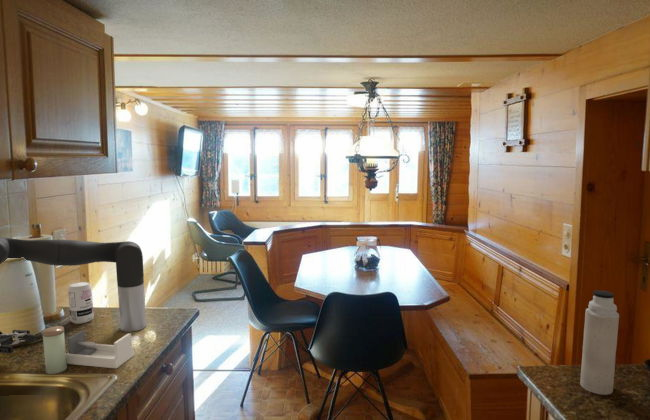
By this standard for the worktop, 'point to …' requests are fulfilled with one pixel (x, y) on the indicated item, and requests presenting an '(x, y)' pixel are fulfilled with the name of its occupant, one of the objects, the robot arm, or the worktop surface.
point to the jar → (54, 349)
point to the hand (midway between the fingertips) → (24, 344)
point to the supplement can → (80, 302)
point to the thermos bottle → (599, 344)
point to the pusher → (79, 344)
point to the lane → (105, 354)
